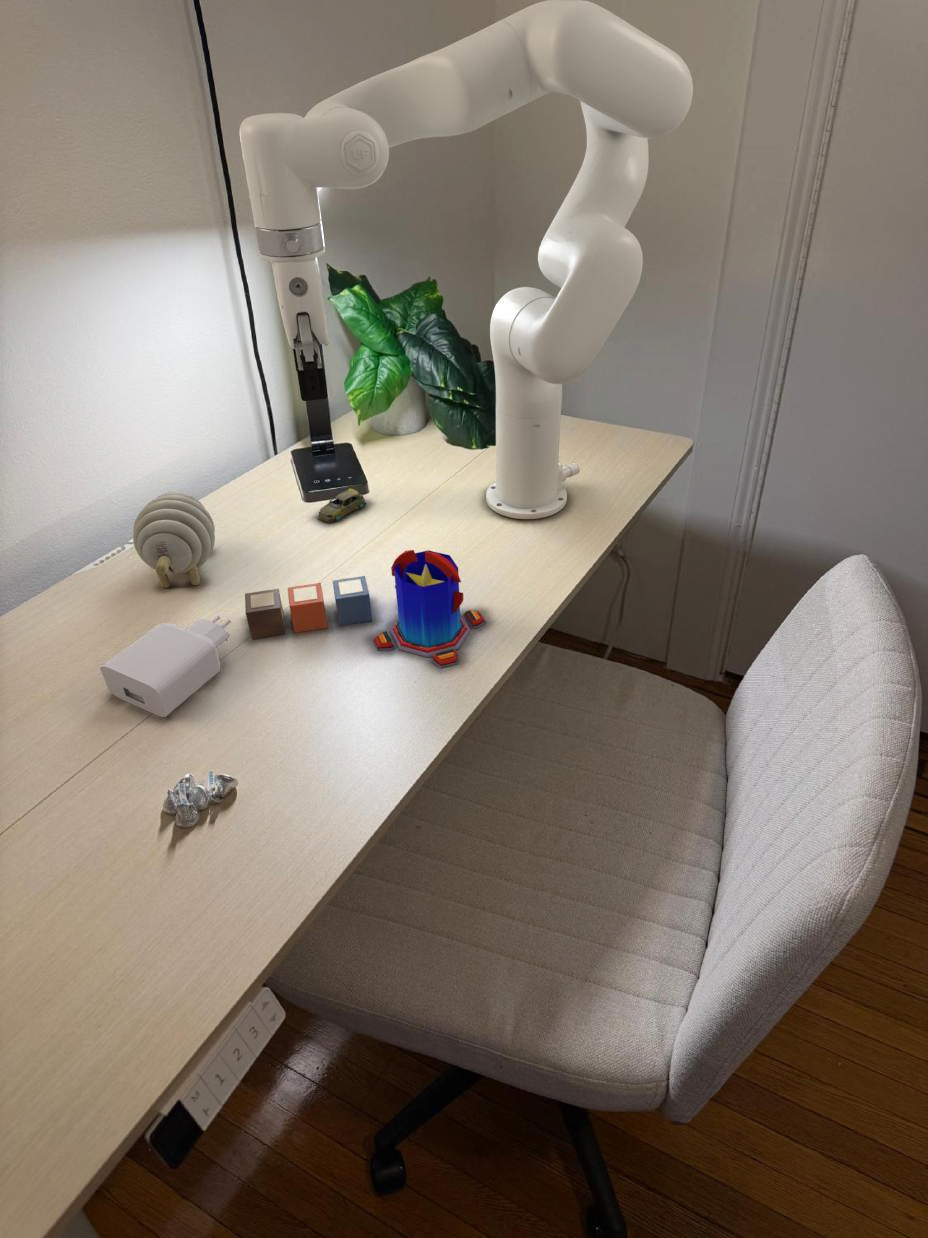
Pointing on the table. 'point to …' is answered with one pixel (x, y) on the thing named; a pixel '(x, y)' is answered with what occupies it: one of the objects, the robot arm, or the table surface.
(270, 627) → the walnut block
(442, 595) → the fantasy tower
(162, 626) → the charger
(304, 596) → the terracotta block
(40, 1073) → the table surface
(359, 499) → the race car
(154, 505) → the toy sheep
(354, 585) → the slate block
